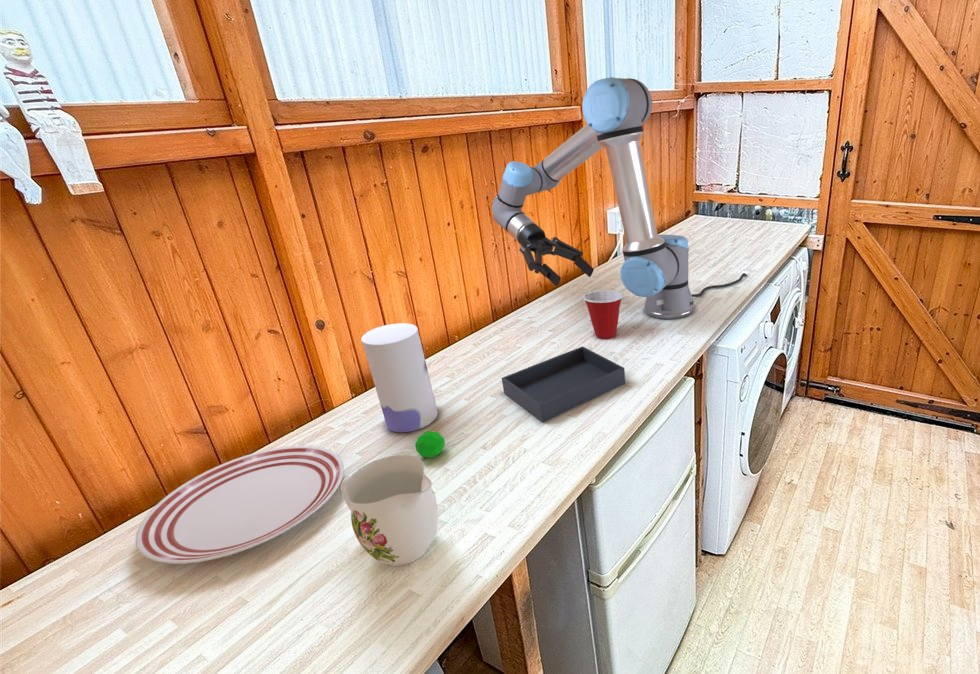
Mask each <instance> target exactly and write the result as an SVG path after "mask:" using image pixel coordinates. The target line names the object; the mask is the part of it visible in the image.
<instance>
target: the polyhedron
mask: <svg viewBox="0 0 980 674" xmlns="http://www.w3.org/2000/svg"><path fill="white" fill-rule="evenodd" d="M445 444H446V441H445V437H443V436H442V434H440V432H438V431H432V430H431V431H430V430H427V431H424V432H423V433H422V434H420V435H419V436H418V437H417V438H416V442H415V445H414V447H415V450H416V452H417V454H419V455H420V456H421V457H422V458H430V459H431V458H432V459H433V458H435V457H436V456H437V455H439V454H441V453H442V451H443V449H444V447H445Z"/></svg>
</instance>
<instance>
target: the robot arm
mask: <svg viewBox="0 0 980 674" xmlns="http://www.w3.org/2000/svg"><path fill="white" fill-rule="evenodd" d="M581 106H582V108H581V109H582V115H583V118H584V121H585V122H586V125H584V126H583V127H581V128H580V129H579V130H578V131H576V132H575V133H574V134H573V135H571V136H570V137H569V138H567V140H566V141H564V142H563V143H562V144H561V145H559V146H558V147H557V148H556V149H555V150H553V151H552V152H550V154H548V155H547V156H546V157H545V158H543V160H541V161H540V162H539V163H538V164H536V165H534V166H529V165H528V164H526V163H524V162H520V161H514V160H513V161H510V162H508V163H507V164H506V167H505V170H504V172H503V174H502V179H501V182H500V186H499V189H498V193H497V194H498V196H496V198H495V199H494V200H493V205H492V212H493V217H494V220H495V221H496V222H497V223H496V222H495V221H494V220H493V221H494V222H495V223H496V224H497V225H499V226H500V227H501V228H502V229H503V230H504V231H506V233H507V234H508V235H510V236H511V237H512V238H513V239H514V240H515V241H516V242H517V243H518V244H519V245H520V247H519V252H520V253H521V254H522V255H523V258H524V261H525V263H526V267H527V268H528V270H529V271H530V272H534V273H535V274H539V273H540V275H542V276H543V277H545V278H546V279H547V280H549V281H550V283H552V284H553V285H554V286H555V287H558V286H559V284H560V282H561V279H562V277H561V276H560V275H559V274H558V273H557V272H556V271H554V270H553V269H552V268H551V267H550V266H549V265H548V264H546V263H543V257H544V256H546V255H551V256H558V257H560V258H563V259H566V260H569V261H571V262H574V263H573V264H574V265H575V266H576V267H577V268H578V269H579V270H580V271H582V272H583V273H584V274H585V275H586V276H587V277H588V278H589V277H590V278H591V277H592V275H593V272H594V270H595V269H594V268H593V267H592V266H591V265H590V264H589V263H588V262H587V261H586V260H585V259H584V258H583V254H584V252H583V251H582V250H579V249H578V248H576V247H575V246H572V245H571V244H568V243H566V242H564V241H562V240H561V239H559V238H558V237H557V236H553V238H552V239H550V238H548V237H547V236H546V233H545V231H544V230H543V229H542V228H541V226H539V225H538V224H536V222H535V221H534V220H532V219H531V218H530V217H529V216H528V215H527V214H526V213H524V211H523V206H524V204H525V201H526V198H527V196H530V195H531V196H532V195H534V194H538V193H542V192H546V191H550V190H552V189H554V188H556V187H558V185H560V182H561V180H563V179H564V178H565V177H566V176H568V175H569V174H570V173H571V172H573V171H574V170H576V169H577V168H579V167H580V166H581V165H582V164H584V163H585V162H587V160H589V159H590V158H592V157H593V156H594V155H596V154H597V153H598V152H600V151H601V150H603V148H604V149H605V151H606V155H607V160H608V166H609V170H610V175H611V179H612V182H613V187H614V192H615V193H614V194H615V196H616V202H617V205H618V210H619V215H620V219H621V224H622V229H623V233H624V238H625V243H624V246H623V247H622V248H621V249H622V251H621V252H622V254H623V259H624V261H623V263H622V265H621V267H620V271H619V274H620V280H621V282H622V284H623V286H624V287H625V289H626V290H627V291H628V292H629V293H632V294H633V295H634V296H637V297H640V298H646V299H645V301H644V312H645V314H646V315H648V316H649V317H652V318H654V319H660V320H677V319H682V318H686V317H688V316H690V315H692V314H693V313H694V312H695V302H694V298H699V297H701V296H702V295H704V293H705V291H707V290H711V289H717V288H725V287H730V286H733V285H735V284H738V283H739V282H741V281H742V280H743V278H744V277H748V275H747V273H745V272H743V273H742V274H741V275H740V277H739V278H738V279H736V280H734V281H732V282H728V283H725V284H724V283H723V284H714V285H709V286H706V287H704V288H703V289H702V290H701V291H700V292H699V293H693V294H692V292H691V289H690V286H689V250H690V247H689V239H687V237H686V236H683V235H678V234H658V230H657V224H656V220H655V215H654V209H653V205H652V204H653V203H652V200H651V194H650V191H649V190H650V189H649V184H648V179H647V174H646V173H647V172H646V169H645V164H644V159H643V154H642V149H641V143H640V140H641V138H642V137H643V135H644V128H643V125H644V124H645V123H646V121H647V120H648V119H650V118H649V117H650V116H651V114H652V108H653V97H652V95H651V92H650V90H649V88H648V87H647V86H646V85H645V84H644V82H641V80H638V79H636V78H623V77H622V78H621V77H613V76H611V77H604V78H600V79H597V80H595V81H594V82H593V83H591V84H590V85H589V86H588V88H587V90H586V91H585V93H584V96H583V99H582V105H581ZM498 199H499V200H498ZM501 202H502V203H501ZM504 204H505V205H504ZM506 205H507V206H506Z"/></svg>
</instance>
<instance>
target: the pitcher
mask: <svg viewBox="0 0 980 674" xmlns="http://www.w3.org/2000/svg"><path fill="white" fill-rule="evenodd" d="M425 470H426V469H425V463H424V461H423V460H422V459H421V458H419V457H417V456H415V455H411V454H394V455H389V456H384V457H382V458H381V457H380V458H378V459H375V460H373V461H371V462H369V463H367V464H365V465H363V466H362V467H361V468H359V469H358V470H356V471H355V472H354V473H352V474H351V475H348V476H347V477H345V478H344V479H342V480H341V483H340V491H341V494H342V497H343V500H344V502H345V505H346V506H347V508H348V509H349V510H350V522H351V527H352V530H353V534H354V535H355V537H356V539H357V541H358V543H359V544H360V546H361V548H363V549H364V550H365V552H366V553H367V554H368V555H370V556H371V557H372V558H374V559H375V560H376V561H378V562H380V563H382V564H385V565H389V566H393V567H400V566H405V565H408V564H411V563H413V562H415V561H417V560H418V559H420V558H422V556H424V554H425V553H426V552H427V551H428V550H429V548H430V547H431V545H432V543H433V541H434V538H435V536H436V533H437V528H438V521H439V507H438V501H437V498H436V494H435V492H434V490H433V488H432V484H433V483H432V481H431V479H430V477H428V476H427V475H426V474H425Z"/></svg>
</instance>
